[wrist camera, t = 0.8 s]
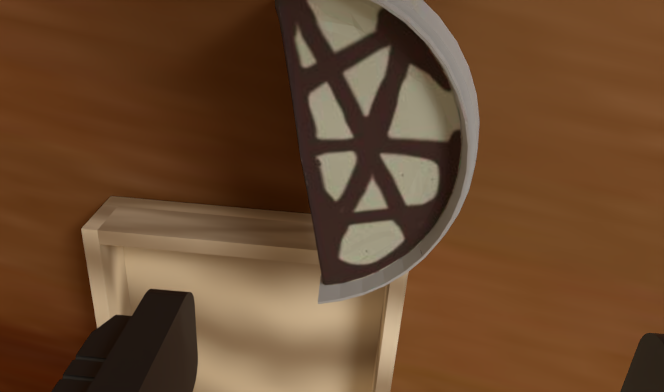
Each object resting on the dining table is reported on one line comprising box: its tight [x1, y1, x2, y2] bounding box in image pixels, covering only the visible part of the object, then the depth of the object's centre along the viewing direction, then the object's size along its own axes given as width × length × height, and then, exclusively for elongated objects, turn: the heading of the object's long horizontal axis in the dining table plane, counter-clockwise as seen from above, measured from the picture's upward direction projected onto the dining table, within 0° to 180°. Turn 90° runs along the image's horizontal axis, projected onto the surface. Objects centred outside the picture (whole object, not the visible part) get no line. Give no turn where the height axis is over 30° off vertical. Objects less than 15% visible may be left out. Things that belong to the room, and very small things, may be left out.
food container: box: [275, 0, 479, 304], centre depth 22 cm, size 12×6×10 cm, turn 7°
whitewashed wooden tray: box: [81, 196, 408, 392], centre depth 33 cm, size 16×16×4 cm
